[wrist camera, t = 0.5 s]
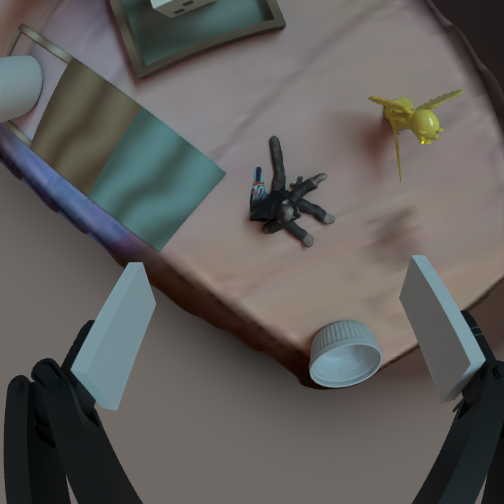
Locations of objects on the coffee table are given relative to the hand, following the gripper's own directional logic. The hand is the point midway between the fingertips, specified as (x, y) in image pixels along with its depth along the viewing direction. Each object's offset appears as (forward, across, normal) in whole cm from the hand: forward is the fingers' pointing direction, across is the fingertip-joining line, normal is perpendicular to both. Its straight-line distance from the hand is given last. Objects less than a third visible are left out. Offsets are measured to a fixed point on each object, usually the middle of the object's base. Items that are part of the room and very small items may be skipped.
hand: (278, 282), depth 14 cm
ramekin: (+25, +12, -34) cm, 44 cm away
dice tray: (+26, -9, +22) cm, 35 cm away
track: (+25, -26, +7) cm, 37 cm away
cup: (+26, -36, +17) cm, 47 cm away
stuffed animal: (+26, +2, -6) cm, 27 cm away
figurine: (+25, +17, +3) cm, 31 cm away
